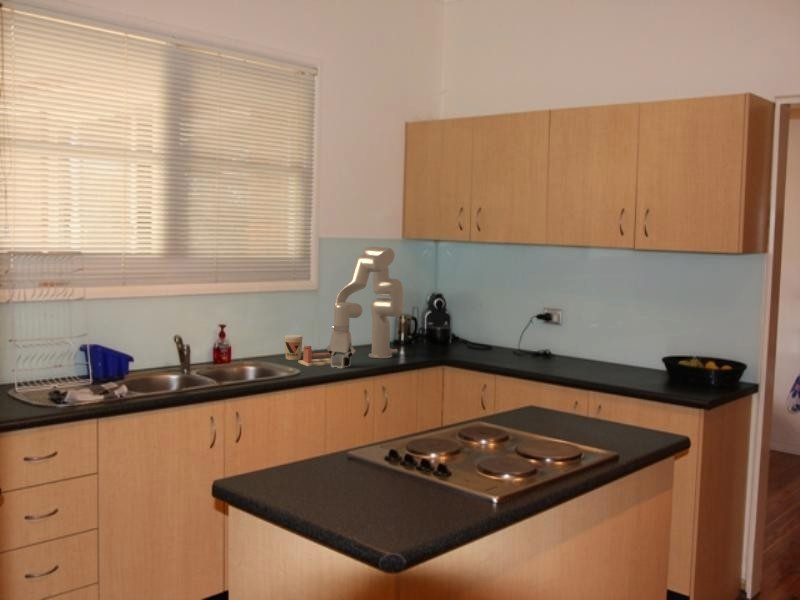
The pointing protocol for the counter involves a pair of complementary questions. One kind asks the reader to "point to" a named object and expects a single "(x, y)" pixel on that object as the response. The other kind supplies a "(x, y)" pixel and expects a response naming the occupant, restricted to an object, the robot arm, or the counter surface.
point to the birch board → (316, 362)
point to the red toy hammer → (308, 354)
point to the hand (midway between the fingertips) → (340, 364)
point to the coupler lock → (339, 361)
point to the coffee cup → (293, 347)
